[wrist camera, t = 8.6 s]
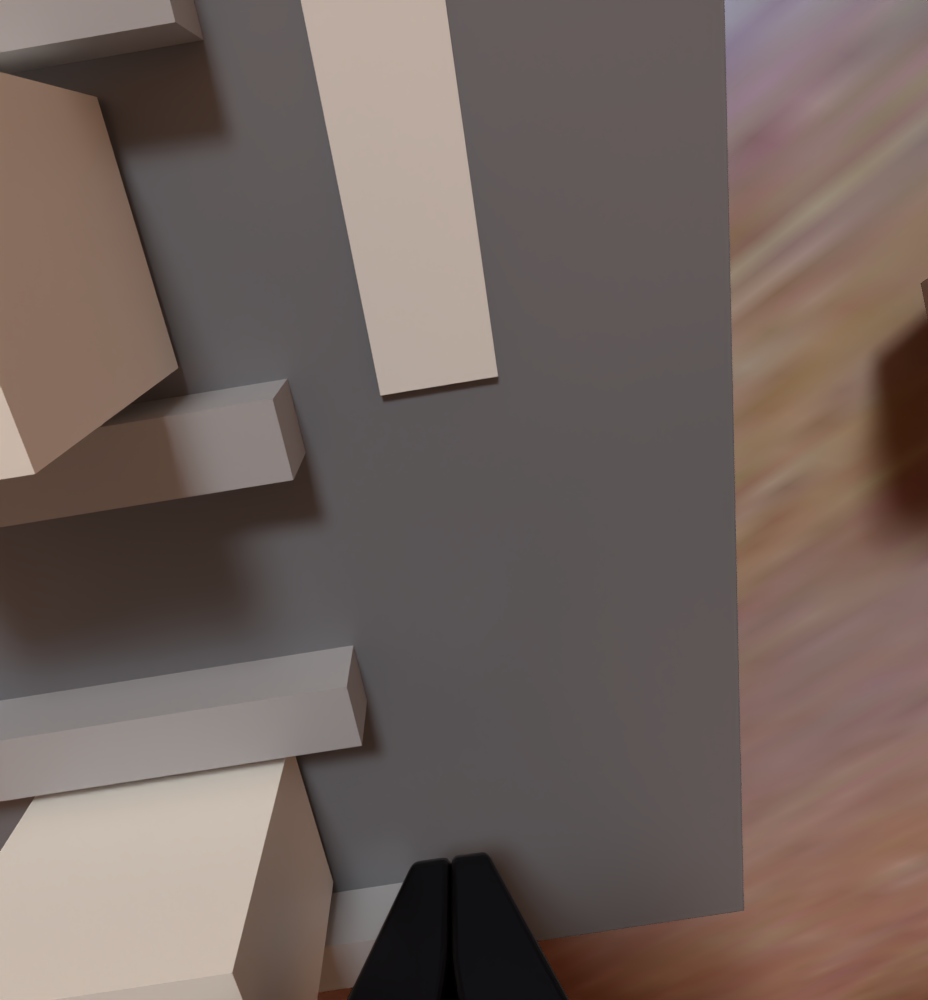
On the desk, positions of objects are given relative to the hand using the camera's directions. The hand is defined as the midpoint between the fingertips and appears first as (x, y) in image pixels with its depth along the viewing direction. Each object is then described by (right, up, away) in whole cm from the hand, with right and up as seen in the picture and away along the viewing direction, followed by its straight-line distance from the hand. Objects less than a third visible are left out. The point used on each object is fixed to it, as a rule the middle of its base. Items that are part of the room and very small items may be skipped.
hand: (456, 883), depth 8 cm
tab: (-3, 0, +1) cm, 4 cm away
